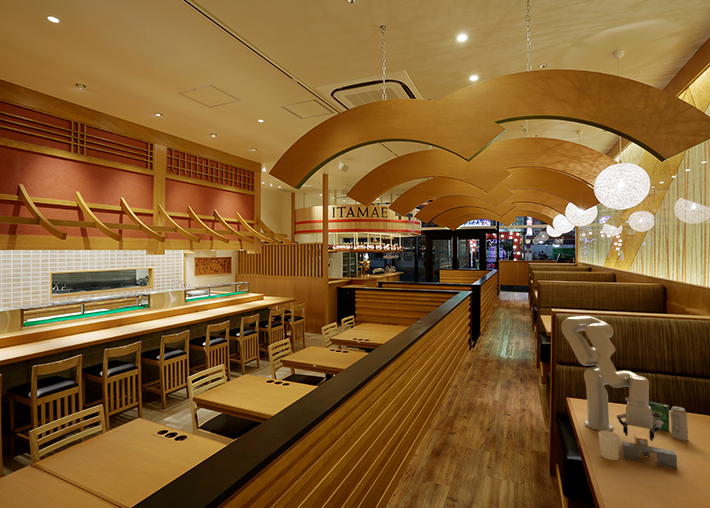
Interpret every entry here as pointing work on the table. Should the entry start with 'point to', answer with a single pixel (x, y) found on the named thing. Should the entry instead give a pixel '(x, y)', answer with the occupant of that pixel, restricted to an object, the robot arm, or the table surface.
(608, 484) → the table surface
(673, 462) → the grey long block
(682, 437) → the energy drink can
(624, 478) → the table surface
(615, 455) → the white cup
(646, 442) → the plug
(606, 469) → the table surface
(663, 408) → the coffee box
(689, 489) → the table surface
